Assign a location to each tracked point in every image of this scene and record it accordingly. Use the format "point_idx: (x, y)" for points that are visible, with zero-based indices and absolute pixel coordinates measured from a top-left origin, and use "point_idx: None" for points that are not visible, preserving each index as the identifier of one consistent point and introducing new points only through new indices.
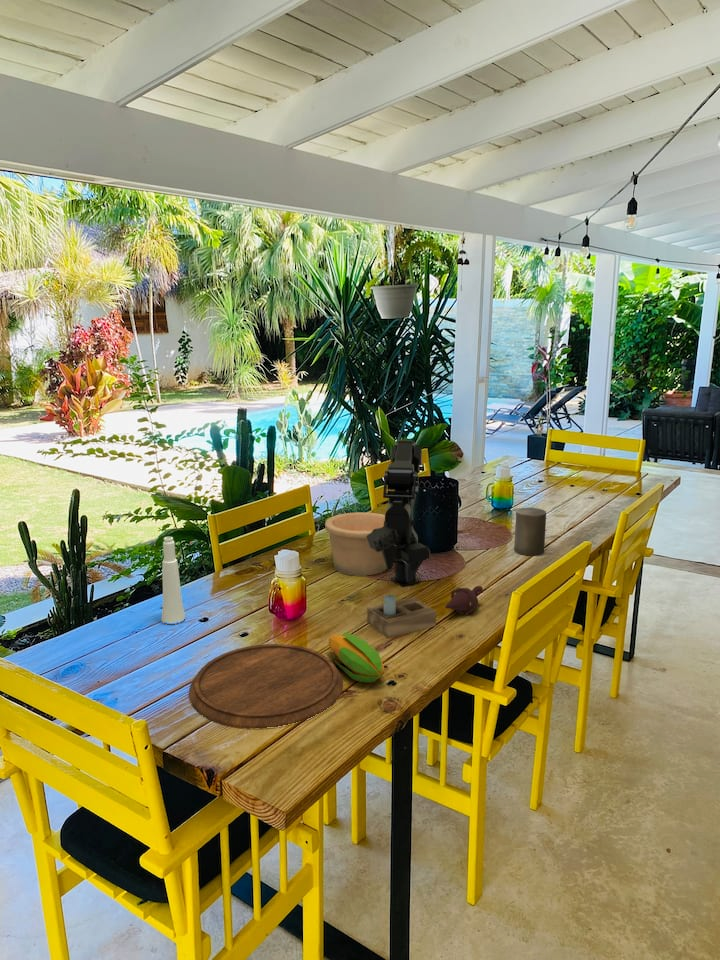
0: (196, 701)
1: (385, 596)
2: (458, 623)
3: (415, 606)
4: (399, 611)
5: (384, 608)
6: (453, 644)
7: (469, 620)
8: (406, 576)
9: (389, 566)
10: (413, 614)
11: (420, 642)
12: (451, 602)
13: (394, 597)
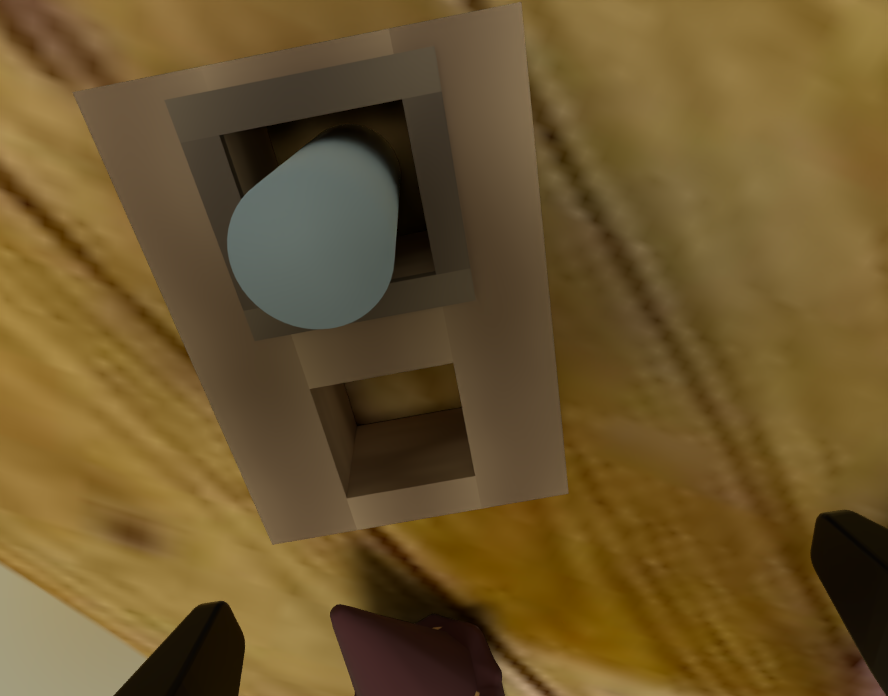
0: None
1: (360, 211)
2: (297, 574)
3: (468, 454)
4: None
5: (311, 149)
6: (16, 466)
7: (320, 625)
8: (162, 687)
9: (856, 578)
10: (242, 386)
11: (55, 298)
12: (354, 659)
13: (296, 310)
